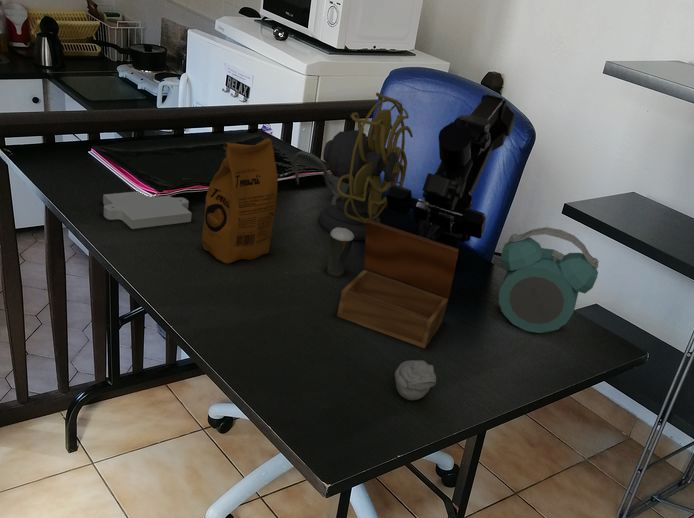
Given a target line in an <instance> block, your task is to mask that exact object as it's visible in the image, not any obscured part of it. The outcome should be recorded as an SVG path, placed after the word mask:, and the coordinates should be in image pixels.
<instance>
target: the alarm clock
mask: <svg viewBox="0 0 694 518" xmlns="http://www.w3.org/2000/svg"><path fill="white" fill-rule="evenodd" d="M541 235H543V236H544V235H547V236H550V237H554V238H558V239H561V240H564V241H567V242H570V243H571V244H572V245H574V246H575V247H577V248H578V249H579V250H580V251H581V252H567V254H563V253H562V252H561V251H558V250H556V249H553V248H544V247H542V246H541V244H540V242H538V241H536V240H535V239H534V238H532V236H541ZM499 259H500V265H501V268H502V269H505V270H506V273H505V275H504V278H503V280H502V283H501V285H500V288H499V294H498V303H499V306H500V312H502V314H503V315H504V317H505V318H507V319H508V321H509V322H510V323H511V324H512V325H513V326H516V327H518V328H520V329H521V330H523V331H525V332H530V333H537V334H542V333H549V332H554V331H558V330H559V329H560V328H561V327H564V325H566V324H567V323H568V322H569V320H570V318H571V317H572V316H573V314H574V313H575V310H576V305H577V301H578V296H579V293H581V294H587V293H588V292H590V291H591V290H592V289H593V288H594V286H595V284H596V281H597V279H598V275H599V271H598V268H599V262H600V261H599V260H598V258H597V257H594V256H593V255H592V254H590V252H589V250H588V248H587V246H586V245H585V244H584V243H583V242H582V241H581V240H580V239H579V238H578V237H576V235H574V234H572V233H570V232H568V231H565V230H563V229H559V228H553V227H549V226H546V227H537V228H533V229H531V230H528V231H526V232H524V233H520V234H517V233H513V234H511V235H510V237H509V238H508V241H507V242H506V243H504V245H503V248H502V250H501V254H500V258H499Z"/></svg>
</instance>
